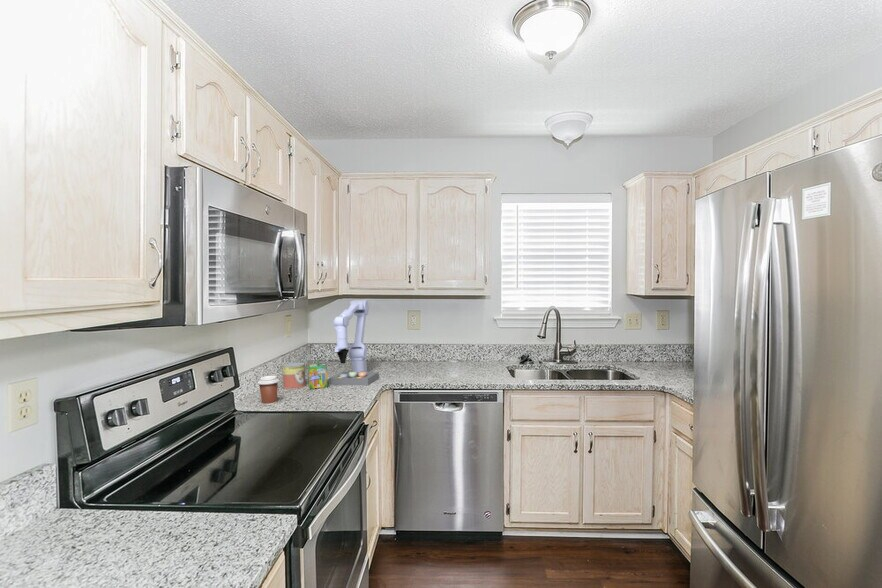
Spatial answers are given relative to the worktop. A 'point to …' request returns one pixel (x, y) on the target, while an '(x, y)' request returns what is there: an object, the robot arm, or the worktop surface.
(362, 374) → the button terracotta
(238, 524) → the worktop surface
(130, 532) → the worktop surface
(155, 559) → the worktop surface
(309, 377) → the chalk box
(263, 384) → the coffee cup
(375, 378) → the console
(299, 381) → the canned food
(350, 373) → the button sage
